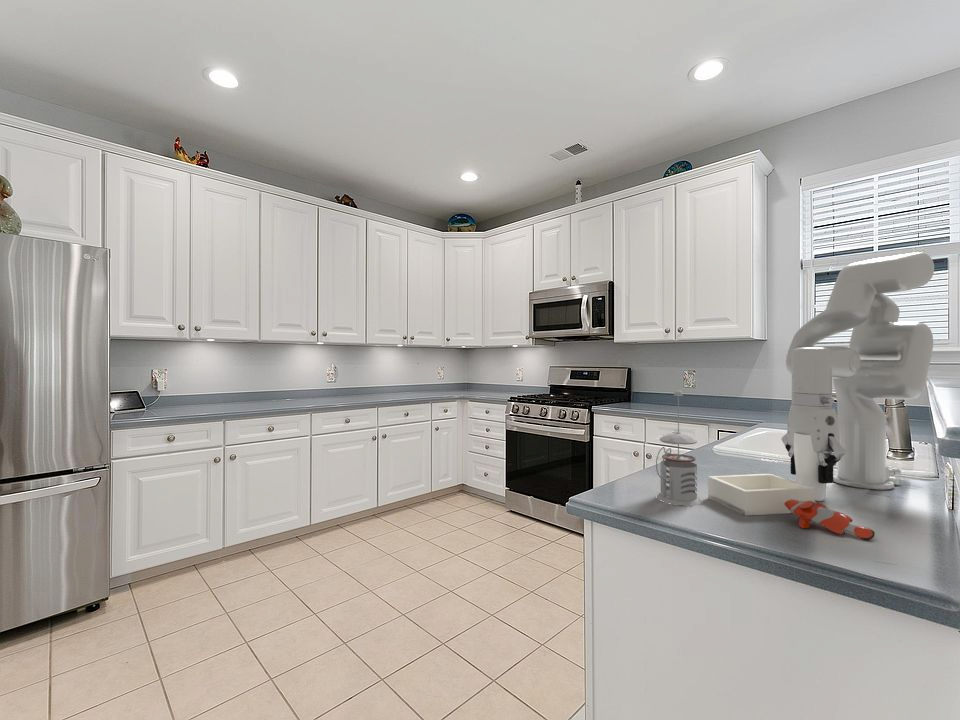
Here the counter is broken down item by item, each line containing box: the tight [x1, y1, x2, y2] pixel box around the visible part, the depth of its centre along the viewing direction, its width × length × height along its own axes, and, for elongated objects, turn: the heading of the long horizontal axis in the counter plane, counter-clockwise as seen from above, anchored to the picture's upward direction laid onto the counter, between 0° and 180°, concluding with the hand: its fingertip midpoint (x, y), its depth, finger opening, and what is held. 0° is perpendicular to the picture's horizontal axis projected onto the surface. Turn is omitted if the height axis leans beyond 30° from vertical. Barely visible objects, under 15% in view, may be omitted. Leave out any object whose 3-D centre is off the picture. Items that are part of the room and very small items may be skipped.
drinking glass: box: [793, 432, 830, 502], centre depth 105 cm, size 7×7×15 cm
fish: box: [784, 499, 876, 541], centre depth 87 cm, size 13×5×9 cm
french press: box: [655, 390, 703, 507], centre depth 105 cm, size 10×12×25 cm
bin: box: [707, 473, 815, 517], centre depth 101 cm, size 16×12×5 cm
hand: (811, 477), depth 105 cm, fingers open, 6 cm apart
